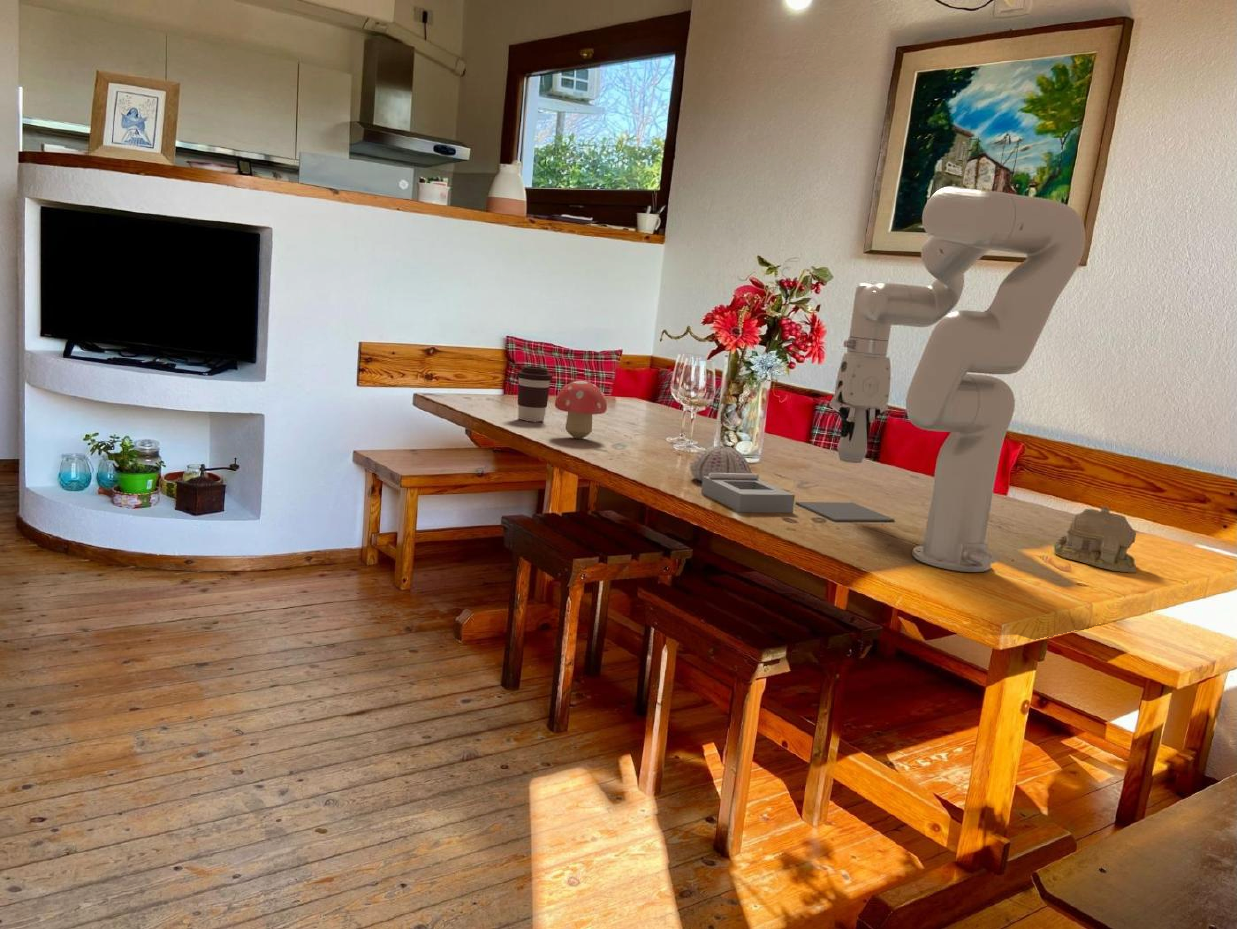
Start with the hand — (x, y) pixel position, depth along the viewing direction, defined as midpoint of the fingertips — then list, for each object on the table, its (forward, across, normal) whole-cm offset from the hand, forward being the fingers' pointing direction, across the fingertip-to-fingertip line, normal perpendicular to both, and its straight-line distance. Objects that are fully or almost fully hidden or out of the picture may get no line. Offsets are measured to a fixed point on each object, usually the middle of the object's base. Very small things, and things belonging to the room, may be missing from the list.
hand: (853, 440), depth 198 cm
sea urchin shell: (+15, -14, +27) cm, 34 cm away
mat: (+15, 0, 0) cm, 15 cm away
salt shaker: (+4, 0, 0) cm, 4 cm away
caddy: (+15, -18, +8) cm, 25 cm away
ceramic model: (+15, +30, -35) cm, 48 cm away
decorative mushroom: (+15, -29, +77) cm, 84 cm away
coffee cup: (+16, -33, +105) cm, 111 cm away
